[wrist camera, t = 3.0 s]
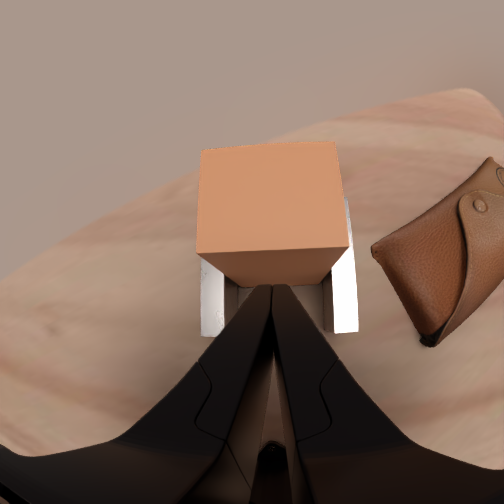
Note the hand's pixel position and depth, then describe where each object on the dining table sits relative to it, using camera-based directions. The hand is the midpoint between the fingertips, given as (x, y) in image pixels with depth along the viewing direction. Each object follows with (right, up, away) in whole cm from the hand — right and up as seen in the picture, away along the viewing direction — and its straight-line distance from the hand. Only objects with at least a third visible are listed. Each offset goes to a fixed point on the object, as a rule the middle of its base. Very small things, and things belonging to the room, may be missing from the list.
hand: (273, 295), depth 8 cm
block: (+1, +1, +11) cm, 11 cm away
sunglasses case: (+17, +2, +10) cm, 20 cm away
